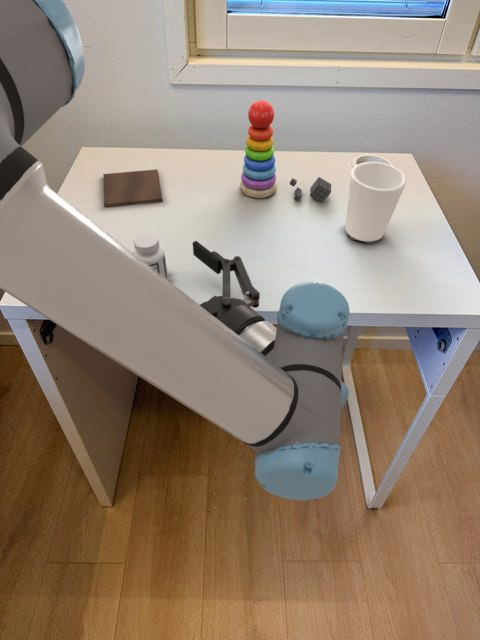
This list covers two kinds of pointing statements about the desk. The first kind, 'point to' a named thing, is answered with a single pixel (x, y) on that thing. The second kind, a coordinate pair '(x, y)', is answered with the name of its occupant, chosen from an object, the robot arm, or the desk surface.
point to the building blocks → (314, 190)
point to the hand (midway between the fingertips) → (161, 264)
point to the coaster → (132, 188)
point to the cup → (372, 199)
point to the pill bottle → (151, 252)
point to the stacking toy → (259, 153)
